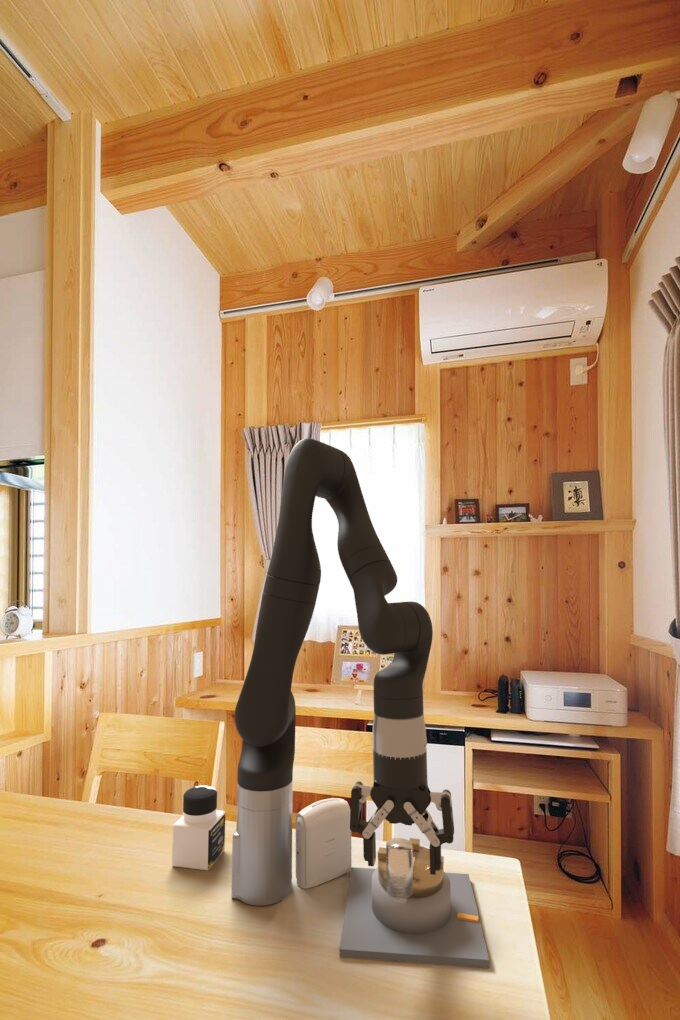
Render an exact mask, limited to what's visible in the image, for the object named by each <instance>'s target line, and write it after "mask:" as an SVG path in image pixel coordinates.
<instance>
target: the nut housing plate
mask: <svg viewBox="0 0 680 1020" xmlns="http://www.w3.org/2000/svg"><path fill="white" fill-rule="evenodd" d="M349 872H350V874H349V881H348V887H347V894H346V900H345V901H346V902H345V909H344V915H343V922H342V931H341V937H340V944H339V957H340V958H347V959H349V958H350V959H361V960H362V959H363V960H364V959H365V960H375V961H387V962H388V961H389V962H402V963H416V964H417V963H418V964H429V965H431V964H432V965H443V966H457V967H468V968H469V967H470V968H471V967H473V968H483V969H484V968H486V969H489V968H490V958H489V954H488V951H487V945H486V942H485V938H484V933H483V928H482V925H481V921H480V917H479V912H478V908H477V904H476V900H475V895H474V891H473V886H472V883H471V878H470V874H469V873H460V872H459V873H455V872H446V871H444V883H443V886H442V888H441V889H440V890H439V891H438V892H437V893H435V894H433V895H430V896H427V897H421V898H407V901H406V903H400V902H394V901H393V897H391V896H390V895H389V894H388V893H387V890H386V889H385V888H384V887H383V886H382V885H381V883H380V882H379V879H378V866H377V867H376V868H372V867H371V868H370V867H367V868H365V867H352V866H351V870H350V871H349Z"/></svg>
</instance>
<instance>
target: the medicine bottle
mask: <svg viewBox="0 0 680 1020" xmlns="http://www.w3.org/2000/svg"><path fill="white" fill-rule="evenodd" d="M182 797H183V799H182V800H183V803H182V805H183V806H182V816H181V817H180V818H179V819H178V820H177V821H176V822H175V823H173V825H172V850H171V854H172V855H171V866H172V867H174V868H175V867H176V868H185V869H191V870H201V871H209V870H210V869H211V868H212V867H213V865H214V864H215V863H216V862H217V860H218V859H219V857H220V856H221V855H222V854H223V853H224V851H225V848H226V847H225V843H226V840H225V839H226V811H225V810H219V809H218V791H217V789H216V788H215V787H213V786H209V785H203V784H202V785H196V786H193V787H191V788H189V789H187V790H186V791H185V792H184V794H183V795H182Z"/></svg>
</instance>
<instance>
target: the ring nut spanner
mask: <svg viewBox="0 0 680 1020" xmlns="http://www.w3.org/2000/svg"><path fill="white" fill-rule="evenodd" d="M444 860H445V856H443V855H441V867H440V870H439V871H438V870H436V875H432V874H430V848H428V847H424V846H421V839H420V838H413V837H410V838H409V839H407V838H401V837H395V838H391V839H388V840H387V841H386V844H385V847H381V846H380V847H379V848H378V851H377V867H378V879H379V882H380V883H381V885H382V886H383V887H384V888H385V889H386V890H387V893H388V894H389V895H390V896H391V897H393V901H394V902H400V903H406V901H407V898H421V897H427V896H430V895H433V894H435V893H437V892H438V891H439V890H440V889H441V888H442V886H443V883H444V872H445V871H444V862H445V861H444Z"/></svg>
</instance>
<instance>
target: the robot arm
mask: <svg viewBox="0 0 680 1020" xmlns="http://www.w3.org/2000/svg"><path fill="white" fill-rule="evenodd" d="M361 488H362V487H361V486H360V482H359V477H358V475H357V471H356V469H355V465H354V463H353V461H352V460H351V457H350V456H349V455H348V454H347V453H345V452H344V451H343V450H341V449H339V448H338V447H335V446H332V445H329V444H327V443H325V442H322V441H320V440H318V439H315V438H311V437H310V438H309V437H308V438H307V437H306V438H303V439H301V440H299V441H297V443H296V444H294V446H293V448H292V449H291V451H290V453H289V455H288V458H287V461H286V465H285V469H284V476H283V483H282V490H281V498H280V499H281V500H280V505H279V514H278V520H277V522H278V523H277V527H276V533H275V537H274V542H273V548H272V552H271V558H270V561H269V565H268V568H267V572H266V576H265V579H264V580H265V581H264V586H263V591H262V595H261V601H260V606H259V611H258V617H257V623H256V629H255V637H254V644H253V649H252V656H251V659H250V663H249V666H248V669H247V672H246V676H245V677H244V678H245V679H244V682H243V685H242V687H241V691H240V693H239V696H238V700H237V702H236V705H235V709H234V723H235V728H236V731H237V734H238V735H239V736H240V739H242V741H241V743H242V744H241V751H240V756H239V760H238V764H237V772H236V773H237V775H236V777H237V780H236V781H237V782H236V783H237V785H236V829H235V831H234V832H233V834H232V840H231V841H232V843H231V844H232V845H231V846H232V851H231V854H232V855H231V898H232V899H237V900H240V901H241V902H243V903H244V904H247V905H251V906H262V907H263V906H270V905H273V904H276V903H279V902H281V901H282V900H284V899H286V897H288V896H289V894H291V891H292V887H293V884H292V883H293V783H294V782H293V778H294V777H293V775H294V774H293V773H294V762H295V755H296V723H297V722H296V720H297V719H296V717H297V716H296V712H297V709H296V700H295V697H294V694H293V692H292V683H293V677H294V672H295V667H296V663H297V659H298V657H299V653H300V651H301V648H302V646H303V644H304V641H305V638H306V635H307V633H308V630H309V627H310V624H311V621H312V619H313V615H314V612H315V608H316V604H317V598H318V594H319V590H320V585H321V579H322V567H321V561H320V558H319V556H320V555H319V553H318V549H317V546H316V541H315V537H314V532H313V512H314V507H315V500H316V497H317V498H320V499H325V501H326V502H327V504H328V505H329V506H330V507H331V509H332V510H333V513H334V514H335V517H336V519H337V522H338V532H337V541H336V542H337V545H336V547H337V552H338V556H339V557H338V558H339V561H340V563H341V566H342V568H343V570H344V573H345V575H346V577H347V578H348V579H347V580H348V581H349V583H350V586H351V588H352V590H353V591H352V592H353V595H354V596H353V597H354V604H355V610H356V615H357V616H356V617H357V625H358V631H359V634H360V638H361V639H362V642H363V643H364V644H365V645H366V647H367V648H368V649H369V650H371V651H372V652H373V653H374V654H377V655H384V656H385V655H391V654H392V655H393V657H392V661H391V663H390V664H389V665H388V666H386V667H385V668H382V669H380V670H379V671H378V672H376V674H375V675H374V678H373V720H372V722H373V723H372V758H373V759H372V762H373V764H372V766H373V767H372V769H373V772H372V773H373V784H372V786H370V785H364V784H363V783H362V781H356V782H355V784H354V785H353V787H352V789H351V791H350V792H351V793H350V830H351V833H358V834H360V835H361V836H362V838H363V839H362V841H363V843H362V845H363V848H362V849H363V859H364V861H365V862H367V866H369V867H375V864H376V860H377V847H376V844H377V843H376V842H377V841H376V830H377V829H378V828H379V827H380V825H381V824H382V823H383V822H384V820H386V821H387V822H388V823H389V824H394V825H396V824H403V825H405V826H412V825H413V824H415V825H416V827H417V828H418V830H420V832H421V833H422V834H423V835H424V836H425V837H426V838H427V840H428V841H429V848H428V849H430V874H432V875H436V870H438V871H439V870H440V867H441V856H442V845H443V844H448V845H449V844H452V843H453V842H454V835H455V824H454V823H455V821H454V813H453V803H452V793H451V791H450V790H449V789H443V791H442V792H438V791H437V792H436V791H435V792H434V791H433V792H432V791H431V789H430V788H429V786H428V759H427V757H428V756H427V753H428V751H427V745H428V738H427V728H426V723H425V716H424V686H423V683H424V680H425V675H426V672H427V667H428V663H429V657H430V654H431V649H432V643H433V637H434V636H433V634H434V633H433V624H432V619H431V616H430V614H429V612H428V610H427V609H426V608H425V607H424V606H423V605H422V604H421V603H419V602H416V601H400V602H399V601H398V602H388V601H387V599H386V597H385V596H387V595H388V594H390V593H391V592H392V591H393V590H394V589H395V588H396V586H397V585H398V576H397V573H396V570H395V568H394V565H393V564H392V562H391V560H390V558H389V556H388V553H387V552H386V550H385V548H384V546H383V544H382V543H381V540H380V539H379V536H378V534H377V532H376V530H375V527H374V525H373V521H372V519H371V516H370V514H369V510H368V507H367V504H366V502H365V499H364V494H363V491H362V489H361ZM368 797H370V799H371V800H372V801H373V803H374V804H375V806H376V809H375V811H374V812H373V814H372V815H371V816H370V818H369V819H368V820H365V819H363V804H364V803H366V801H367V800H368V799H367V798H368ZM431 803H434V805H435V808H436V810H437V811H439V812H441V817H442V827H443V828H441V829H439V827H438V825H436V823H435V822H434V820H433V816H432V815H431V814H430V813H429V811H428V808H429V806H430V804H431Z"/></svg>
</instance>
